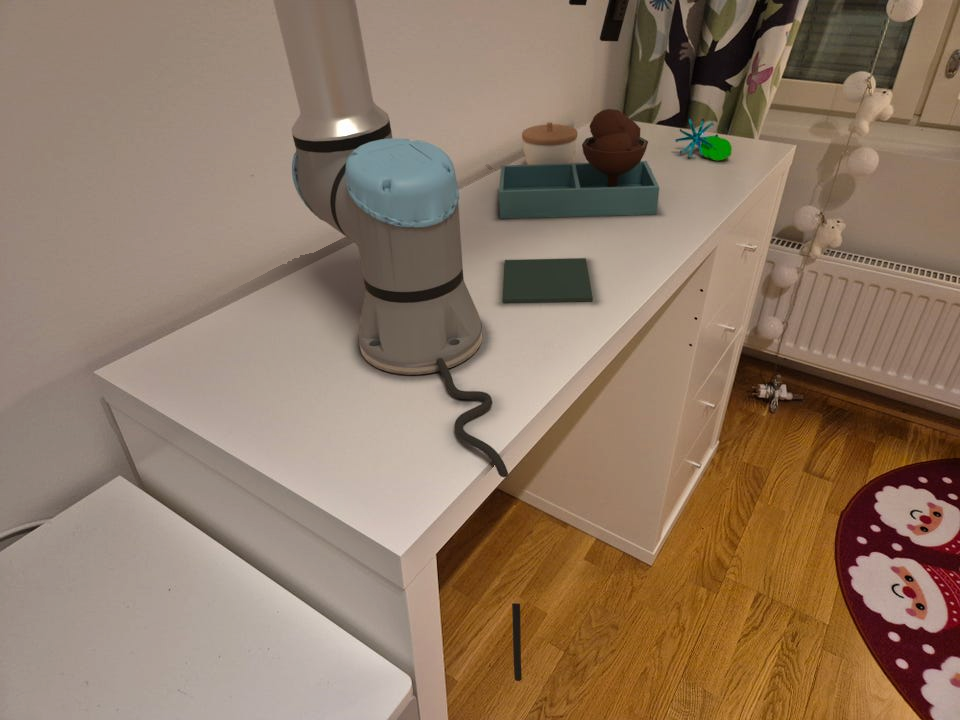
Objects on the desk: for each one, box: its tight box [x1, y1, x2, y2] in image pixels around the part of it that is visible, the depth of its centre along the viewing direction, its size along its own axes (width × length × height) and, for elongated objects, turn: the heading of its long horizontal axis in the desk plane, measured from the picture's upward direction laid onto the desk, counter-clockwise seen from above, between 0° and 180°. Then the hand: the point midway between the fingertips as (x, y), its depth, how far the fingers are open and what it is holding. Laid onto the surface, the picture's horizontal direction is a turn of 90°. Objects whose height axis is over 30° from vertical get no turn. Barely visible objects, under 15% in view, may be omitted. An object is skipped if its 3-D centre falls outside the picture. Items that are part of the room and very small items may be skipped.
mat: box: [502, 257, 594, 304], centre depth 93 cm, size 12×12×1 cm
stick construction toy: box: [674, 118, 733, 162], centre depth 134 cm, size 12×7×8 cm
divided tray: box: [498, 160, 660, 220], centre depth 116 cm, size 14×26×5 cm, turn 87°
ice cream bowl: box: [581, 108, 649, 187], centre depth 112 cm, size 11×11×15 cm
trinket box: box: [521, 122, 578, 165], centre depth 129 cm, size 11×11×9 cm
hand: (592, 21), depth 102 cm, fingers open, 13 cm apart
